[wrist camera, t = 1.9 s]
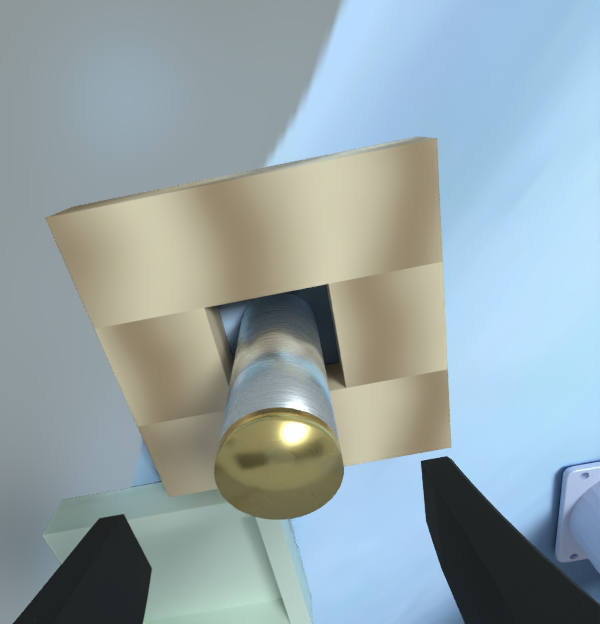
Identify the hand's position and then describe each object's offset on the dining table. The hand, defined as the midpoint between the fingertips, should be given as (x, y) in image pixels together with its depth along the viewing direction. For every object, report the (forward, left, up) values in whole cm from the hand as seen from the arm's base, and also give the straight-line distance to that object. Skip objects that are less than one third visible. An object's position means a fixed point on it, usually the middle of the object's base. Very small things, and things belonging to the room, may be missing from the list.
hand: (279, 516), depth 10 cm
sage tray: (+8, +14, -10) cm, 19 cm away
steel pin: (0, 0, -10) cm, 10 cm away
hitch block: (0, 0, -10) cm, 10 cm away
